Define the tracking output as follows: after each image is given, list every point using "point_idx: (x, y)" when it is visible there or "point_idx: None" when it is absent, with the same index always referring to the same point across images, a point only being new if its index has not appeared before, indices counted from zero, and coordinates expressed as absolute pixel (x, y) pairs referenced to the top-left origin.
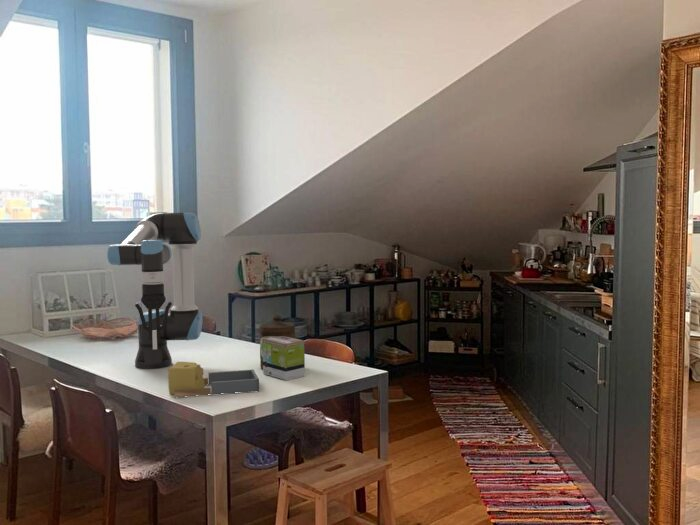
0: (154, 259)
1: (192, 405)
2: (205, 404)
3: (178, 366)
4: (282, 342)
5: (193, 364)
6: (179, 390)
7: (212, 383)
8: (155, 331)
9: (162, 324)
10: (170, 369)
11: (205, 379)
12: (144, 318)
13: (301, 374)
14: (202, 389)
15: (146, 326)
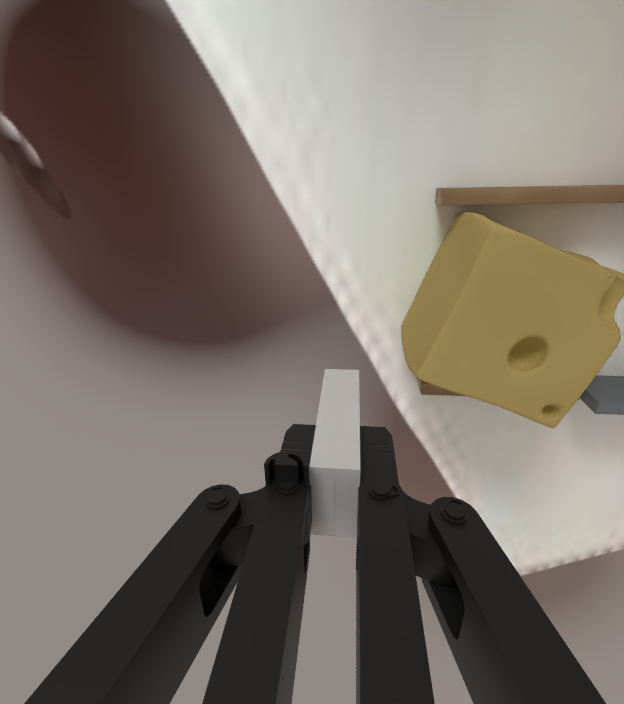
0: None
1: (463, 481)
2: (507, 484)
3: (478, 354)
4: None
5: (579, 333)
6: (441, 393)
7: (598, 411)
8: (345, 534)
9: (441, 613)
10: (425, 381)
11: (619, 202)
12: (166, 677)
13: None
14: None
15: (235, 580)
